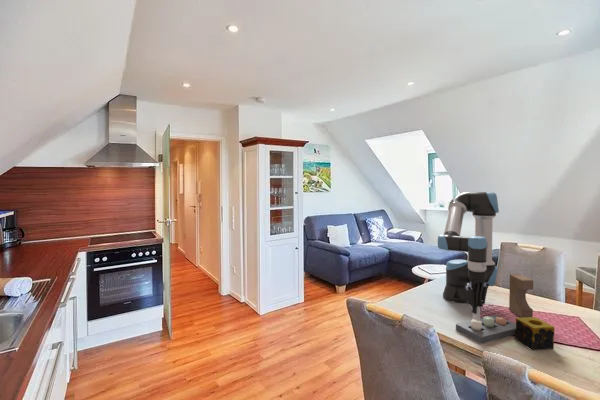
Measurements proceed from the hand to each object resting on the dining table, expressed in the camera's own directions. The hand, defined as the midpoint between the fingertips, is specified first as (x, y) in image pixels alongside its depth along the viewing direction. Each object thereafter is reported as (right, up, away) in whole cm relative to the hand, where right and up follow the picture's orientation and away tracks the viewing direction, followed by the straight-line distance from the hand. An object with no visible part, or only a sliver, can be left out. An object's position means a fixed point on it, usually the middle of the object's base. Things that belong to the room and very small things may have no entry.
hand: (476, 319), depth 146 cm
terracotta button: (+15, -6, +6) cm, 17 cm away
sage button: (+8, -5, +3) cm, 10 cm away
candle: (+20, -8, -9) cm, 23 cm away
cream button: (0, -5, +1) cm, 5 cm away
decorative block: (+36, -5, +21) cm, 42 cm away
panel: (+8, -7, +3) cm, 11 cm away
